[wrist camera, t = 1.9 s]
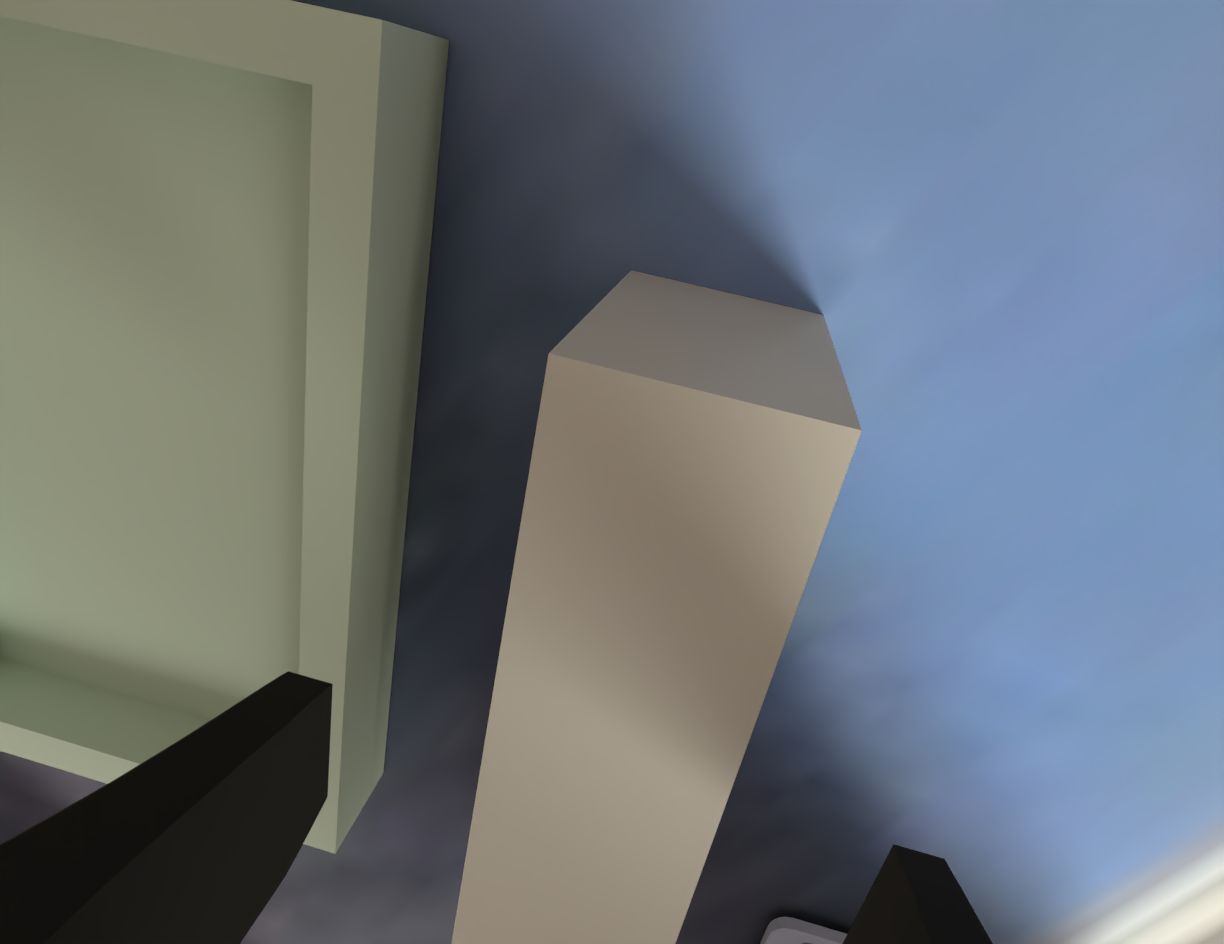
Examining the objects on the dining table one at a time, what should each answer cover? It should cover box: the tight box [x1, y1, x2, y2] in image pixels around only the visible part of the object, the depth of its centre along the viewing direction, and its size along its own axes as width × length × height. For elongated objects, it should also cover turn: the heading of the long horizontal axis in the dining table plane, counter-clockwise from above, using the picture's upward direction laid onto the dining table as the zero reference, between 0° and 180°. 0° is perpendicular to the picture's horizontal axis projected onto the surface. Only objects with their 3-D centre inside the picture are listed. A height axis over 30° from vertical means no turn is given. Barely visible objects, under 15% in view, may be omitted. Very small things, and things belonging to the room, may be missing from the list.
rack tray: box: [0, 0, 449, 853], centre depth 16 cm, size 11×17×2 cm, turn 169°
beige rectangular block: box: [452, 270, 862, 944], centre depth 13 cm, size 4×11×6 cm, turn 169°
